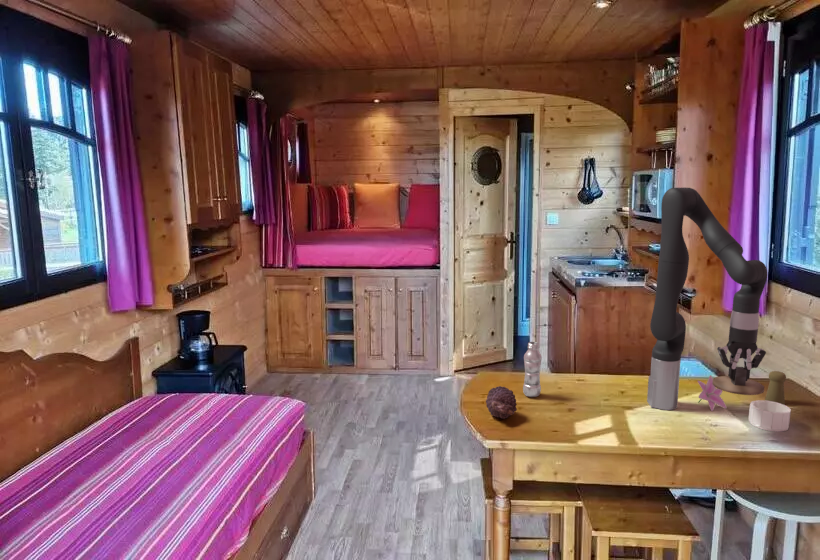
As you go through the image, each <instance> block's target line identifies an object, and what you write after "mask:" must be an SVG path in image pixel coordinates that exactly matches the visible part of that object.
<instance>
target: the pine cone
mask: <svg viewBox="0 0 820 560" xmlns="http://www.w3.org/2000/svg"><path fill="white" fill-rule="evenodd" d="M485 403H486V404H485V405H486V407H487V410H488V412H489V413H490V415H491V416H493V417H494V418H500V419H503V420H504V419H508V418H509V417H511V416H512V415H514V414H515V412H517V410H518V409H517V404H518V403H517V399H516V395H515V394H514V391H513V390H512V389H509V388H508V387H505V386H501V385H499V386H495V387H492V388H491V389H490V390H489V391H488V393H487V397H486V400H485Z"/></svg>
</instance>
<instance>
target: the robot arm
mask: <svg viewBox="0 0 820 560" xmlns="http://www.w3.org/2000/svg"><path fill="white" fill-rule="evenodd" d="M660 207H661V208H660V209H661V211H660V212H661V215H660V216H661V217H660V218H661V232H660V245H659V257H658V265H657V277H656V286H655V287H656V288H655V298H654V305H653V309H652V313H651V318H650V324H649V327H650V332H651V334H652V336H653V337H654V338H655V339H656V343H655V344H654V346H653V348H652V351H651V361H650V363H651V364H650V375H648V378H647V379H648V382H647V394H646V395H647V397H646V402H647V404H649V406H650V408H655V409H658V410H659V409H660V410H664V411H665V410H667V411H668V410H670V411H671V410H676V409H677V408H678V401H679V389H680V388H679V386H680V372H681V364H682V363H681V361H682V360H681V359H682V354H683V351H684V350H685V349H684V347H685V342H686V341H685V339H686V332H687V331H686V329H687V325H686V320H685V318H684V317H683V315H682V314H680V313H679V312H678V311H677V309H678V302H679V298H680V295H681V293H682V291H683V288H684V287H685V283H686V281H687V278H688V273H689V263H690V254H689V250H688V248H687V247H688V246H687V244H686V241H685V238H684V235H683V234H684V232H683V225H684V217H687V218H689V219H690V220H691V221H692V222H693V223H695V224H696V226H698V229H699V230H700V232H701V234H702V237H703V240H704V243H705V244H706V245H707V247H708V248H709V249H710V250H711V251H712V253H714V255H715V256H716V257H717V258H718V259H719V261H721V262H722V265H723V267H724V268H725V270H726V272H727V274H728V276H729V278H731V280H733V281H734V282H736V283H737V284H738V285H740V288H739V290H738V291H735V293H734V294H733V298H732V299H733V300H732V308H731V309H732V311H731V315H730V319H729V331H728V342H727V343H726V345H725V346H722V347H721V346H718V347H717V348H716V349H717V352H718V355H719V357H720V361H721V362H722V365H724V366H725V367H726V368H728V373H727V376H729V378H730V379H731V380H732V381H735V373H736V369H735V368H736V367H737V364H738V363H739V360H740V359H742V360H743V367H744V368H745V369H746V370H747V373H746V381H747V379H750V376H751V370H752V369H757V368H759V366H760V364H761V362H762V360H763V359H764V358H765V356H766V354H767V351H765V350H764V349H763V348H759V347H758V345H757V341H758V335H759V334H758V332H759V331H758V330H759V323H760V315H759V314H760V305H761V303H760V302H761V297H762V294H763V291H764V289H765V286H766V283H767V280H768V268H767V266H766V264H765V263H764V262H762V261H761V260H758V259H750V260H747V259H746V258H745V257H744V256H743V254H744V248H743V246H742V245H741V244H740V243H739V242H738V241H737V240H736V239H735V238H734V237H733V235H731V234H730V233H729V232H728V231H727V230H726V229H725V227H723V225H722V224H721V223H720V221H719V220H718V219H717V218H716V216H715V215H714V214H713V212H712V211H711V209H710V207H709V206H708V205H707V203H706V202H705V200H704V199H703V198H702V195H700V193H699V192H698V191H697V190H696V189H695V188H691V187H671V188H669V189H667V190H666V192H664V194H663V197H662V200H661V206H660ZM728 351H729V353H730V356H729V359H728V356H727V354H728ZM754 354H755V355H754ZM753 355H754V357H753V358H752V356H753Z"/></svg>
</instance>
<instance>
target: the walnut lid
mask: <svg viewBox="0 0 820 560" xmlns="http://www.w3.org/2000/svg"><path fill="white" fill-rule="evenodd" d="M735 369H736V373H735V381H732V380H731V379H730V378H729V376H728V375H723V376H722V375H721V376H716V377H713V385H714V386H715V387H716V388H718V389H720V390H722V392H723V391H724V392H726V393H731V394H736V395H744V396H757V395H760V394H764V392H765V386H764V385H763V384H762V383H761V382H758V381H756V380H753V379H750V378H749V379H747V381H746V373H747V370H746V369H745V368H744V366H736V368H735Z"/></svg>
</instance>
